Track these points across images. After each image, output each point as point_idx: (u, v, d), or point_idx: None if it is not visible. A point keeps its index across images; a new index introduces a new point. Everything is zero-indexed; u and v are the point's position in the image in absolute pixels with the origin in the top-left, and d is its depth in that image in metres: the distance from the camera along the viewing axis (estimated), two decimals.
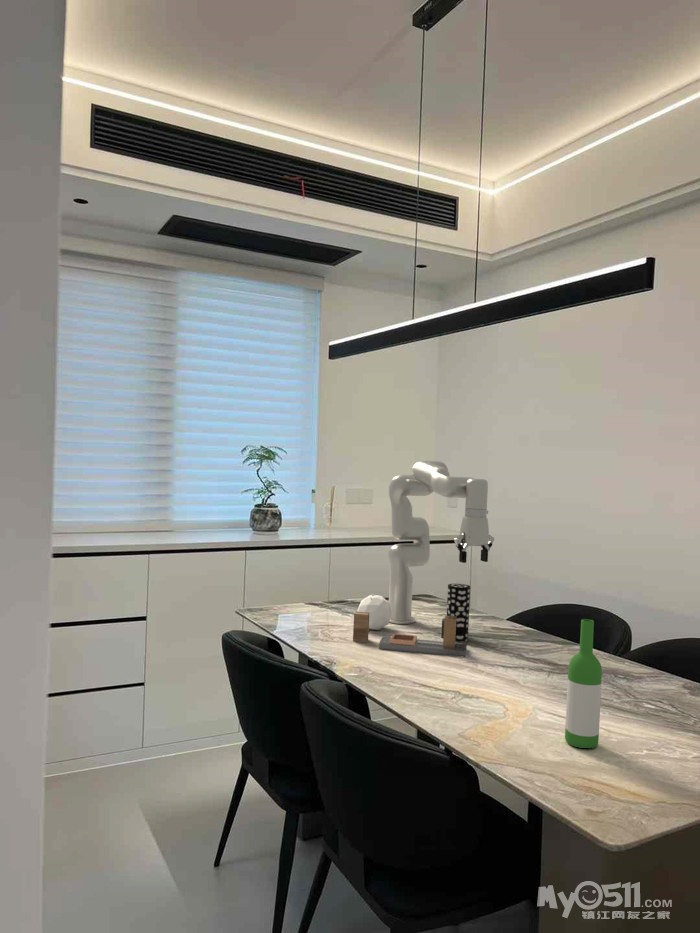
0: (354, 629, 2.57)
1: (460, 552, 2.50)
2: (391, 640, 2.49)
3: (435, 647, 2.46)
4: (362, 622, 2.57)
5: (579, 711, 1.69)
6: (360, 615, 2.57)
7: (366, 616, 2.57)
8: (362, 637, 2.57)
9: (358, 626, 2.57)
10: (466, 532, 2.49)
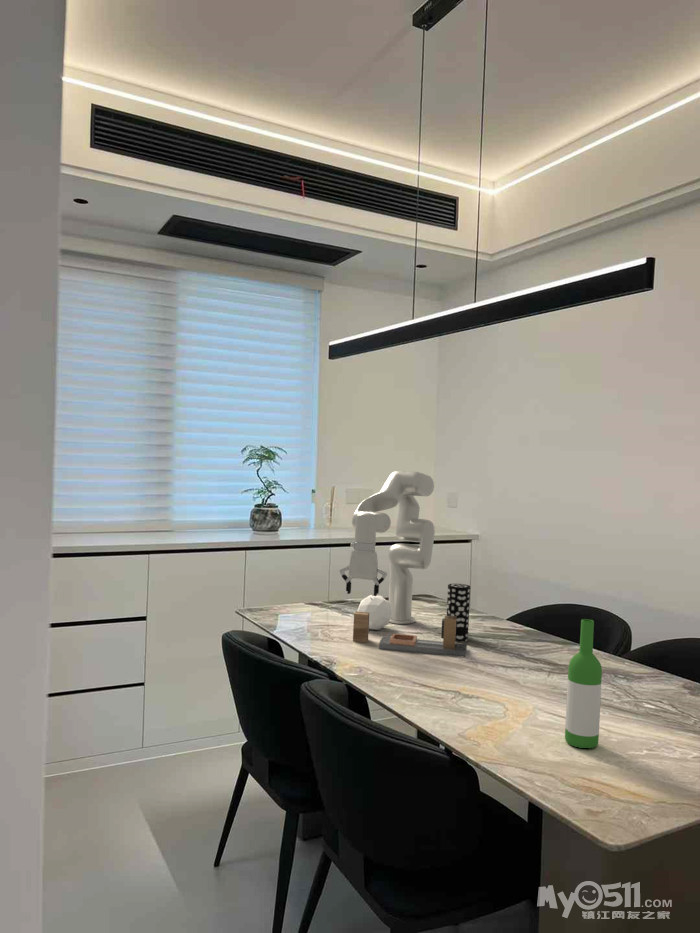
0: (354, 629, 2.57)
1: (378, 586, 2.57)
2: (391, 640, 2.49)
3: (435, 647, 2.46)
4: (362, 622, 2.57)
5: (579, 711, 1.69)
6: (360, 615, 2.57)
7: (366, 616, 2.57)
8: (362, 637, 2.57)
9: (358, 626, 2.57)
10: (377, 565, 2.59)
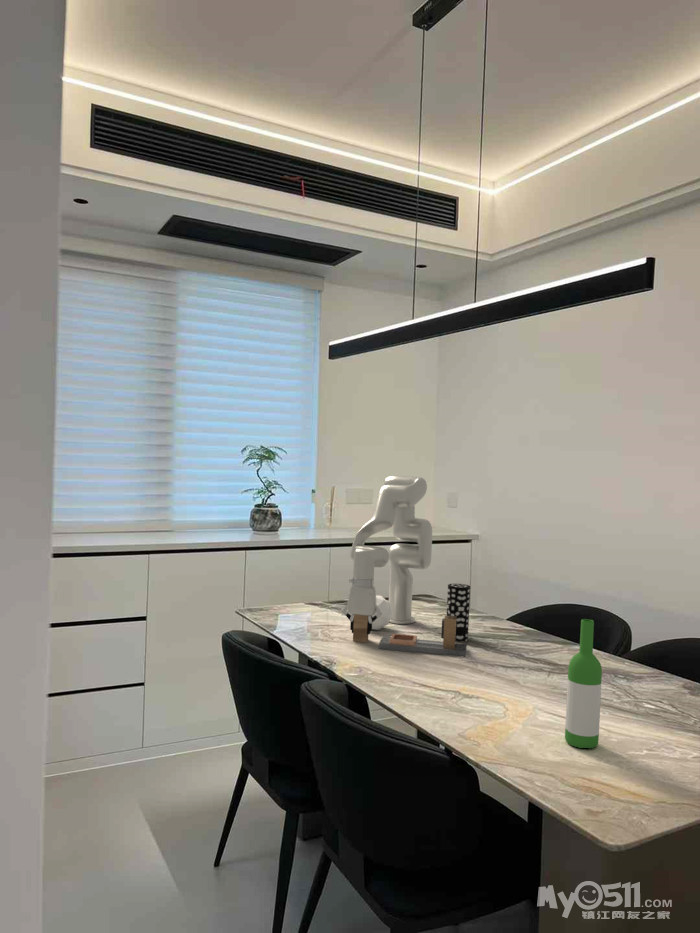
0: (354, 629, 2.57)
1: (371, 624, 2.58)
2: (391, 640, 2.49)
3: (435, 647, 2.46)
4: (362, 622, 2.57)
5: (579, 711, 1.69)
6: (360, 615, 2.57)
7: (366, 616, 2.57)
8: (362, 637, 2.57)
9: (358, 625, 2.57)
10: None
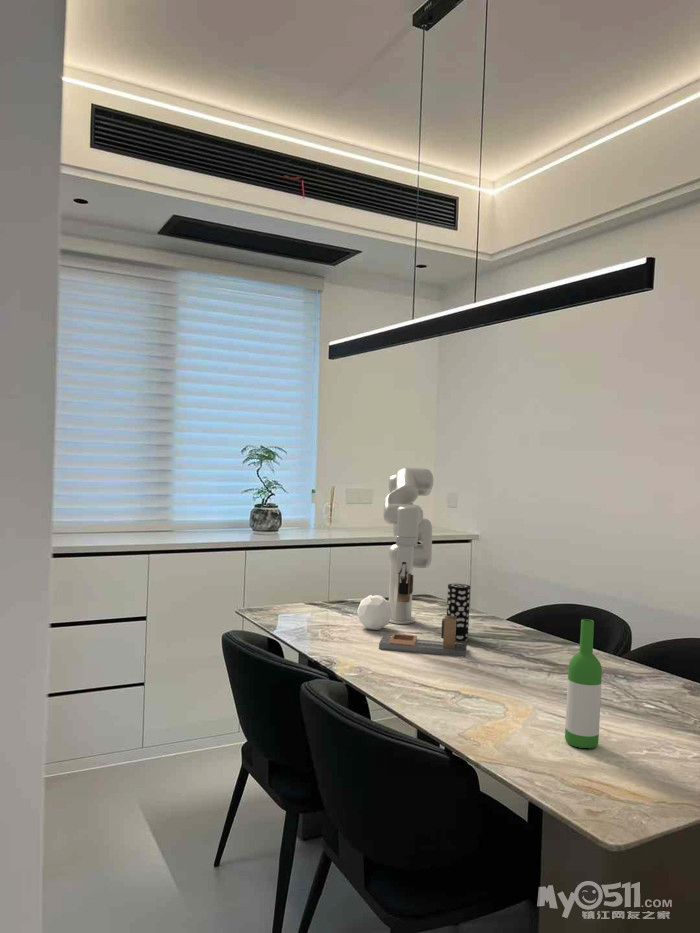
0: None
1: (402, 584, 2.48)
2: (391, 640, 2.49)
3: (435, 647, 2.46)
4: None
5: (579, 711, 1.69)
6: None
7: None
8: None
9: None
10: (407, 562, 2.47)
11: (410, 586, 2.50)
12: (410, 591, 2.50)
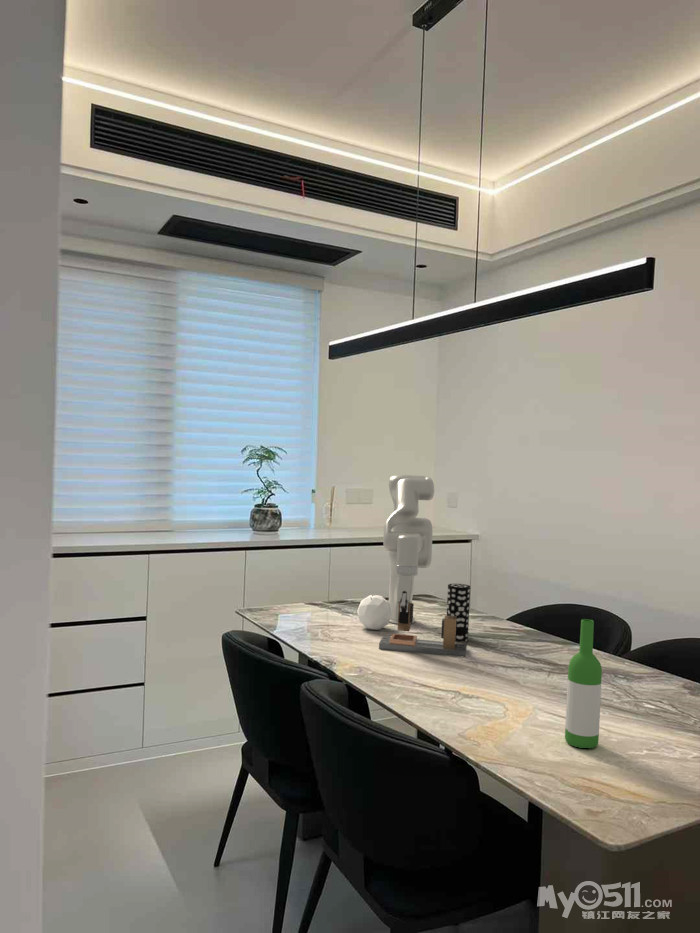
0: None
1: (403, 613, 2.48)
2: (391, 640, 2.49)
3: (435, 647, 2.46)
4: None
5: (579, 711, 1.69)
6: None
7: None
8: None
9: None
10: (408, 591, 2.47)
11: (410, 615, 2.49)
12: (410, 620, 2.50)
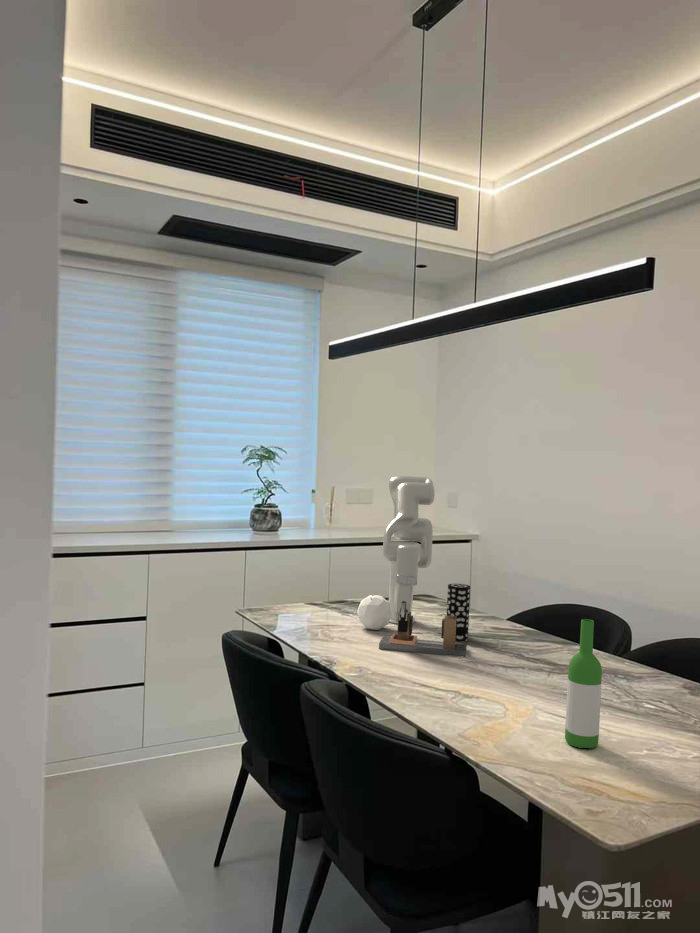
0: None
1: (402, 622, 2.47)
2: (391, 640, 2.49)
3: (435, 647, 2.46)
4: None
5: (579, 711, 1.69)
6: (399, 614, 2.53)
7: (398, 616, 2.51)
8: None
9: None
10: (407, 601, 2.47)
11: (410, 627, 2.50)
12: (410, 632, 2.50)
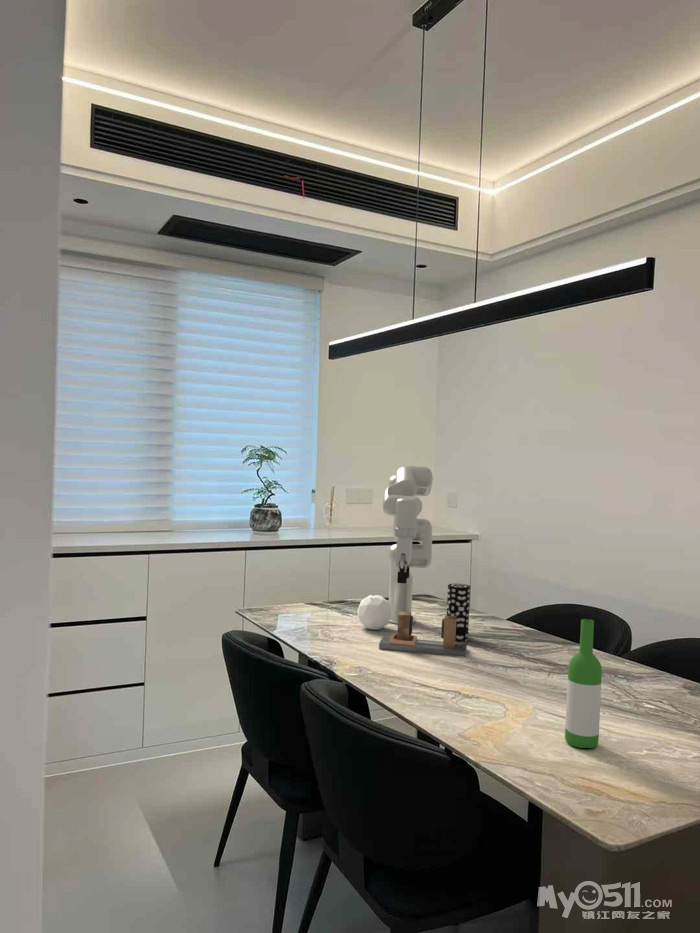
0: None
1: (401, 573, 2.50)
2: (391, 640, 2.49)
3: (435, 647, 2.46)
4: None
5: (579, 711, 1.69)
6: (399, 614, 2.53)
7: (398, 616, 2.51)
8: None
9: None
10: (406, 553, 2.50)
11: (410, 627, 2.50)
12: (410, 632, 2.50)
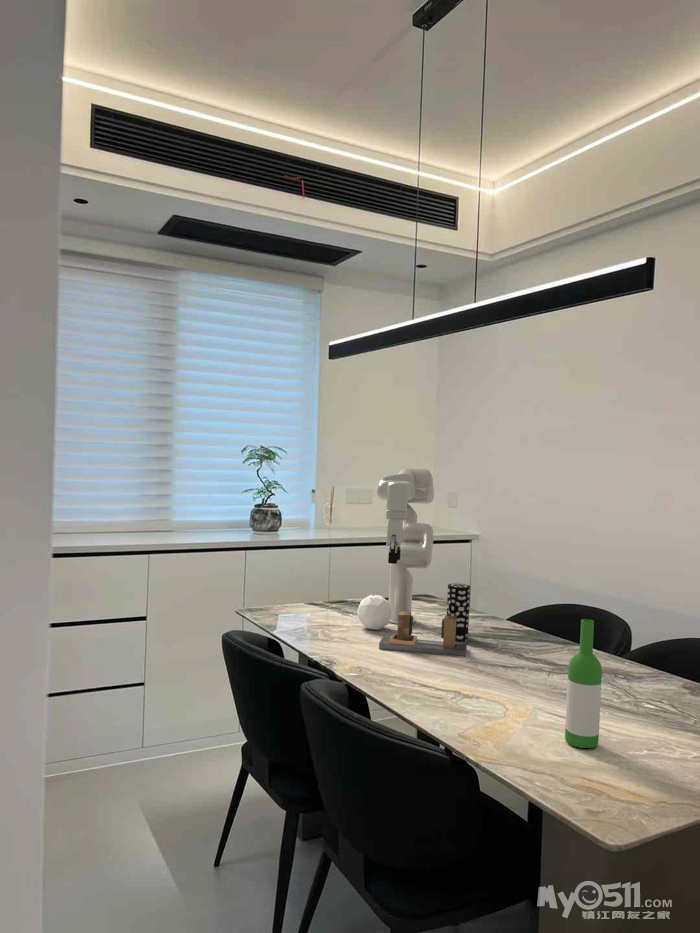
0: None
1: (392, 554, 2.59)
2: (391, 640, 2.49)
3: (435, 647, 2.46)
4: None
5: (579, 711, 1.69)
6: (399, 614, 2.53)
7: (398, 616, 2.51)
8: None
9: None
10: (397, 534, 2.59)
11: (410, 627, 2.50)
12: (410, 632, 2.50)
